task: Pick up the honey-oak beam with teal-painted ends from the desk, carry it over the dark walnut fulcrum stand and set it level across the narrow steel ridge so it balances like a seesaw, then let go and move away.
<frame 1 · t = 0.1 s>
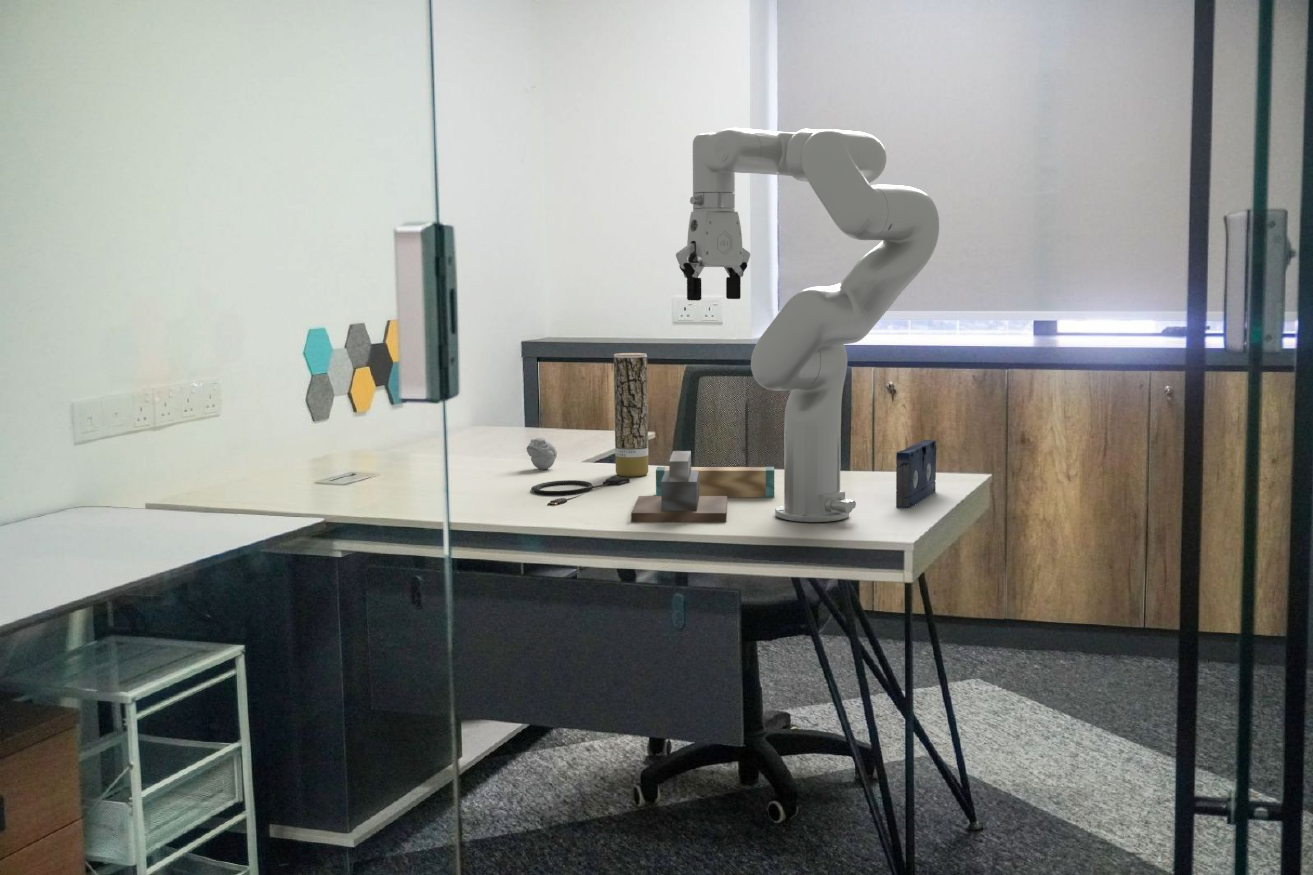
hand: (714, 299, 230), 37 cm above the table, tool pointing down, fingers open, 9 cm apart
cable: (565, 494, 244), on the table
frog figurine: (542, 470, 270), on the table
vhs cassette tape: (916, 501, 231), on the table
oak beam: (715, 495, 237), on the table
fulcrum stand: (680, 512, 221), on the table
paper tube: (632, 475, 262), on the table
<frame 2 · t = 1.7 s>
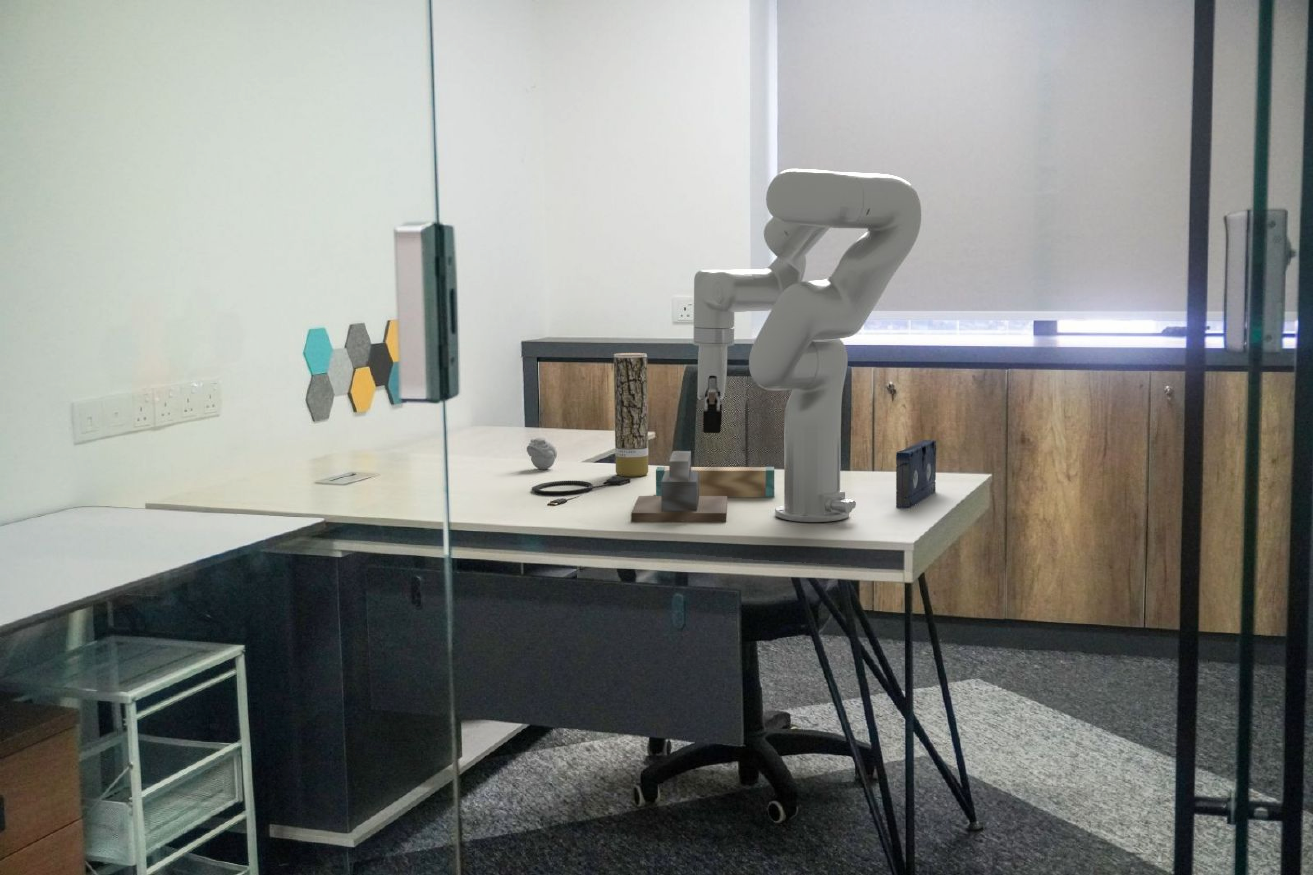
hand: (712, 428, 236), 13 cm above the table, tool pointing down, fingers open, 9 cm apart
nothing on the table moved.
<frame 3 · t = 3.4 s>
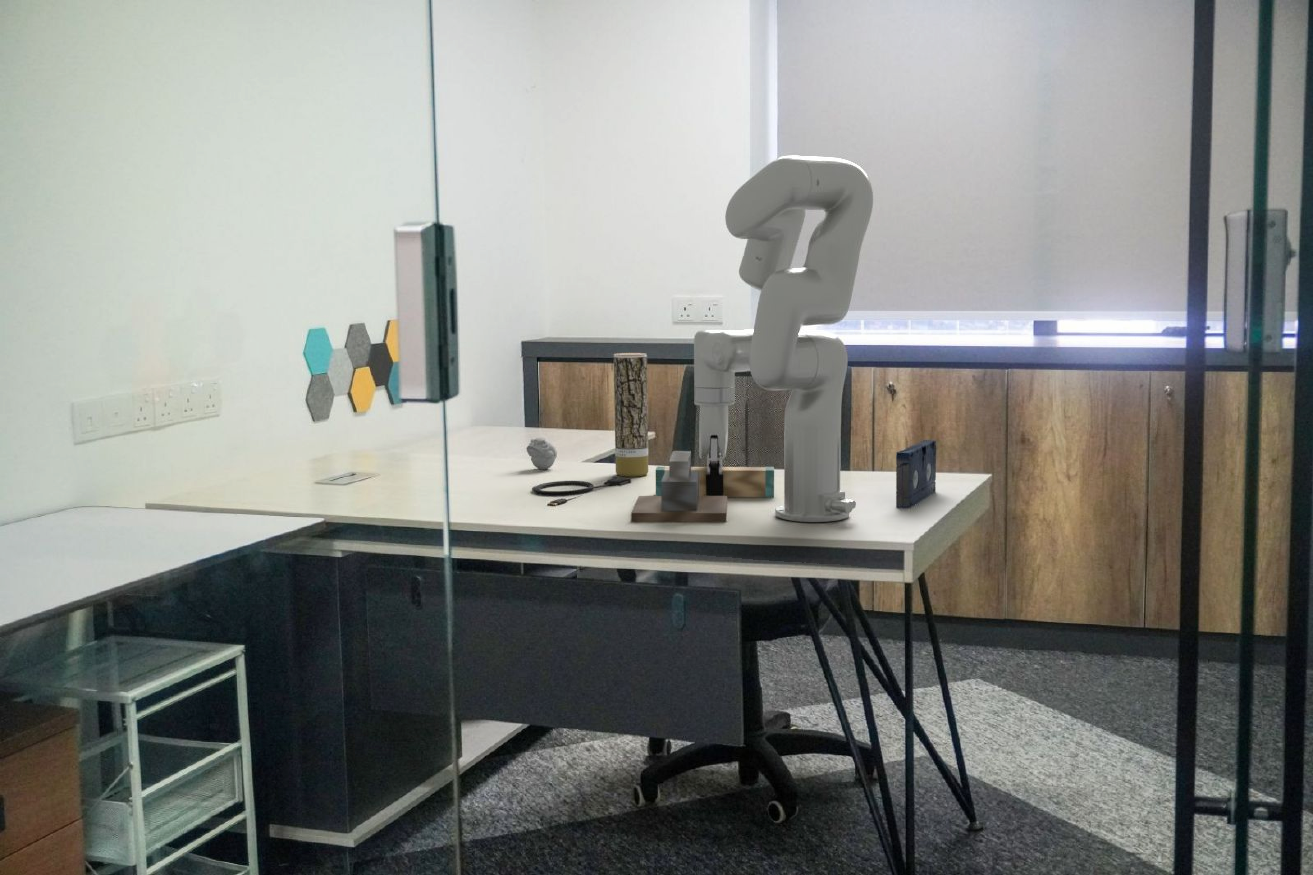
hand: (715, 492, 237), 1 cm above the table, tool pointing down, fingers closed on oak beam, 4 cm apart
oak beam: (714, 494, 237), on the table, touching gripper
everything else where it was.
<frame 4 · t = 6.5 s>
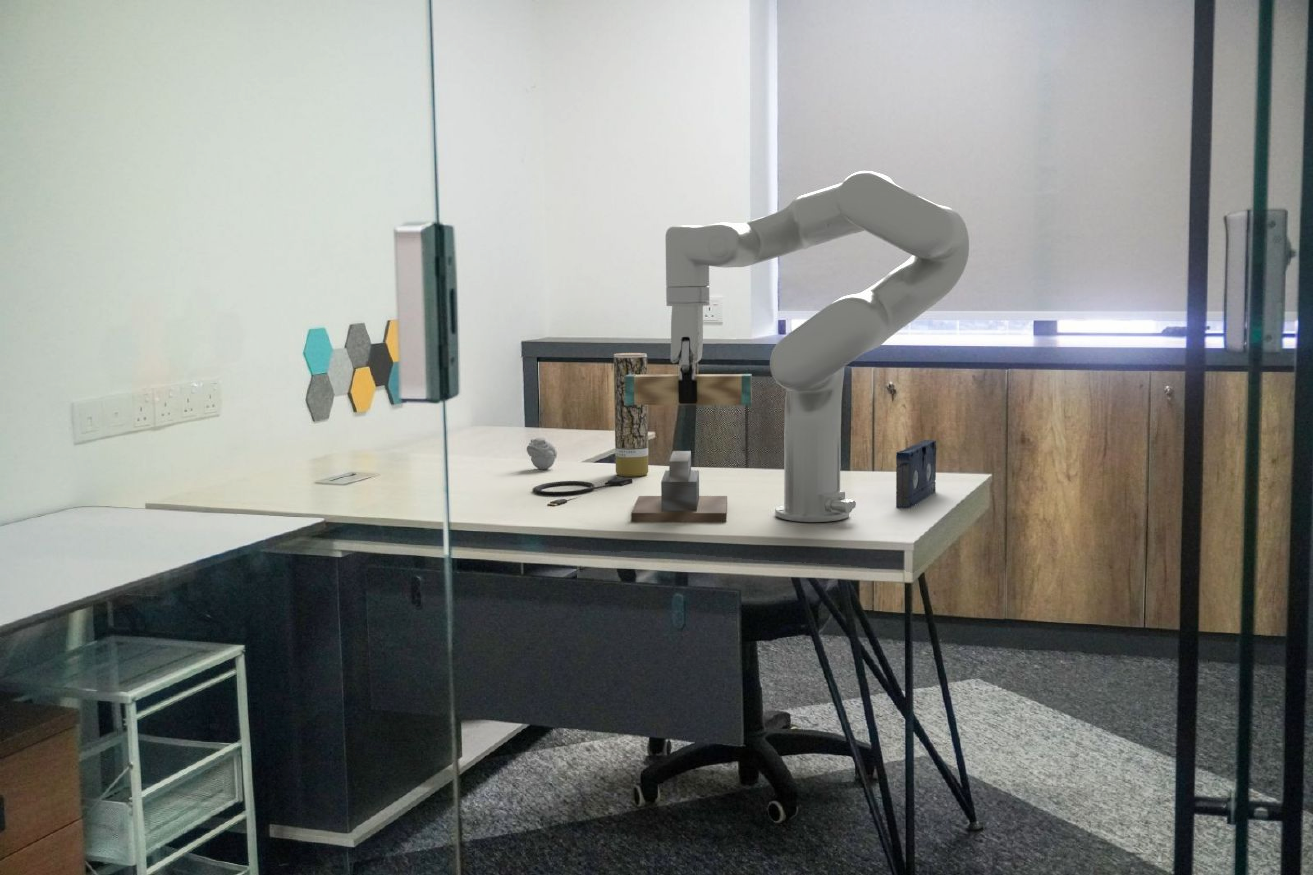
hand: (689, 400, 223), 19 cm above the table, tool pointing down, fingers closed on oak beam, 4 cm apart
oak beam: (688, 403, 223), point 19 cm above the table, touching gripper
everything else where it was.
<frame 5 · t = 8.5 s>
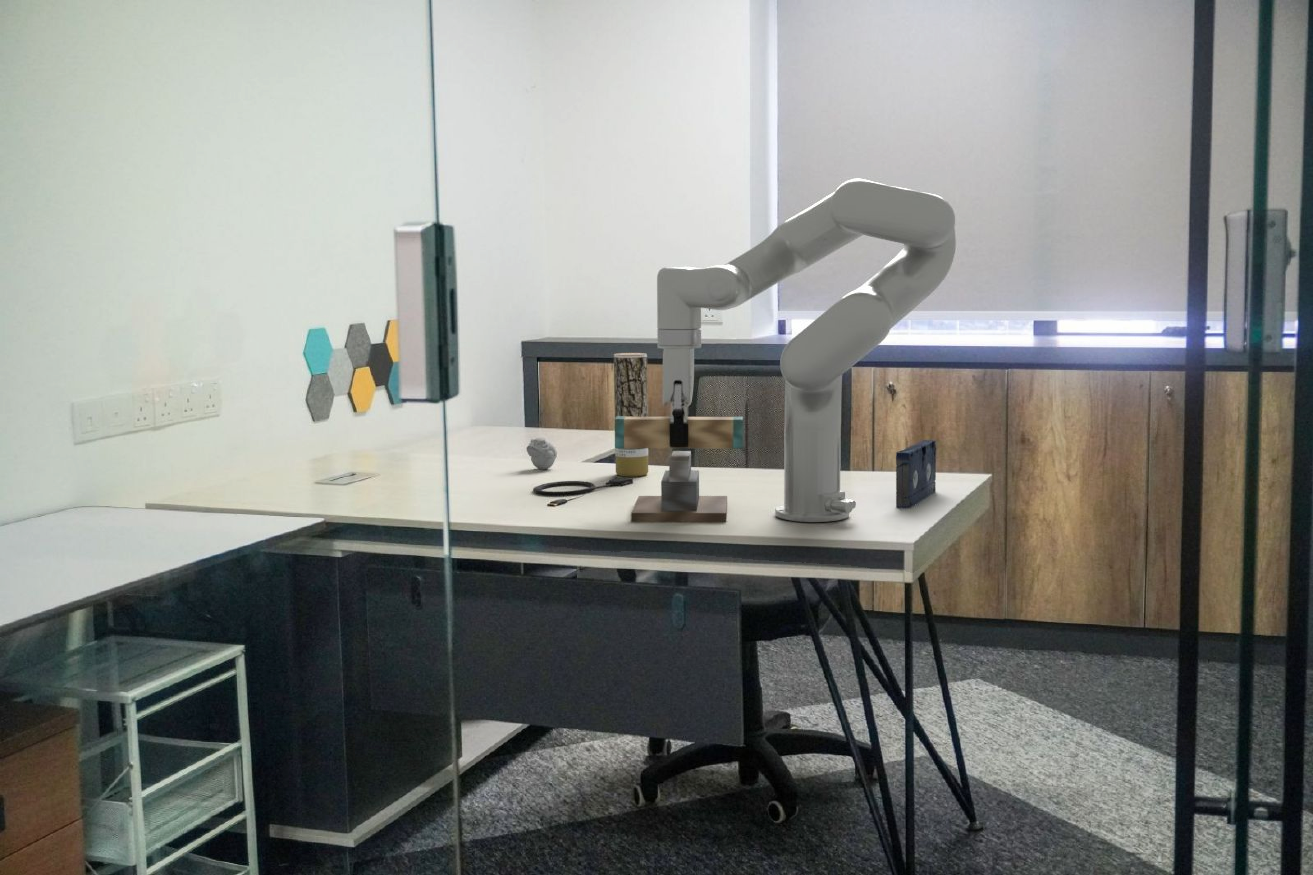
hand: (679, 443, 219), 12 cm above the table, tool pointing down, fingers closed on oak beam, 4 cm apart
oak beam: (679, 446, 220), point 12 cm above the table, touching gripper
everything else where it was.
when the fingers open (11 cm above the table, at t = 10.0 s): oak beam stays where it is, resting on fulcrum stand.
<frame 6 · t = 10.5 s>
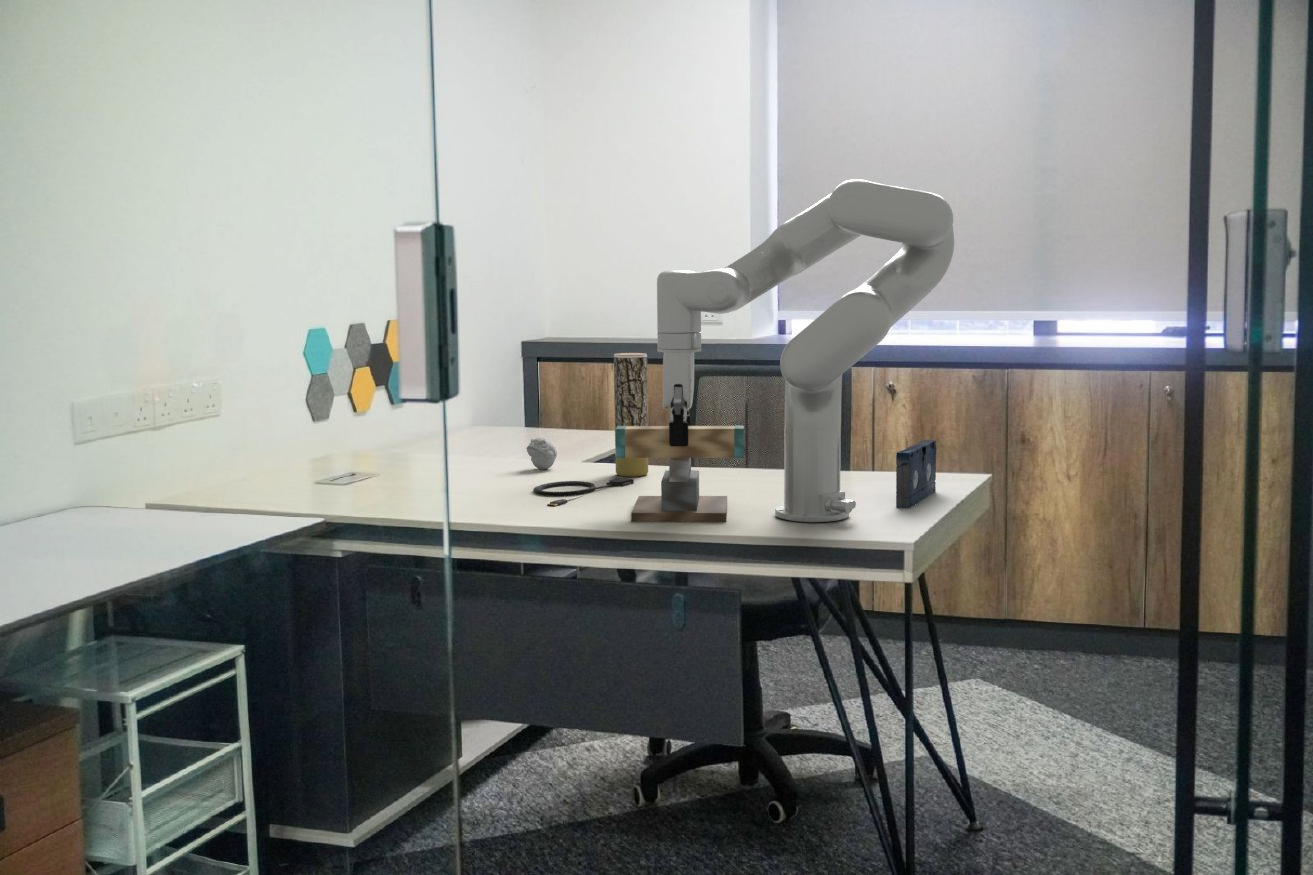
hand: (680, 442, 219), 12 cm above the table, tool pointing down, fingers open, 9 cm apart
oak beam: (680, 456, 220), point 10 cm above the table, touching fulcrum stand
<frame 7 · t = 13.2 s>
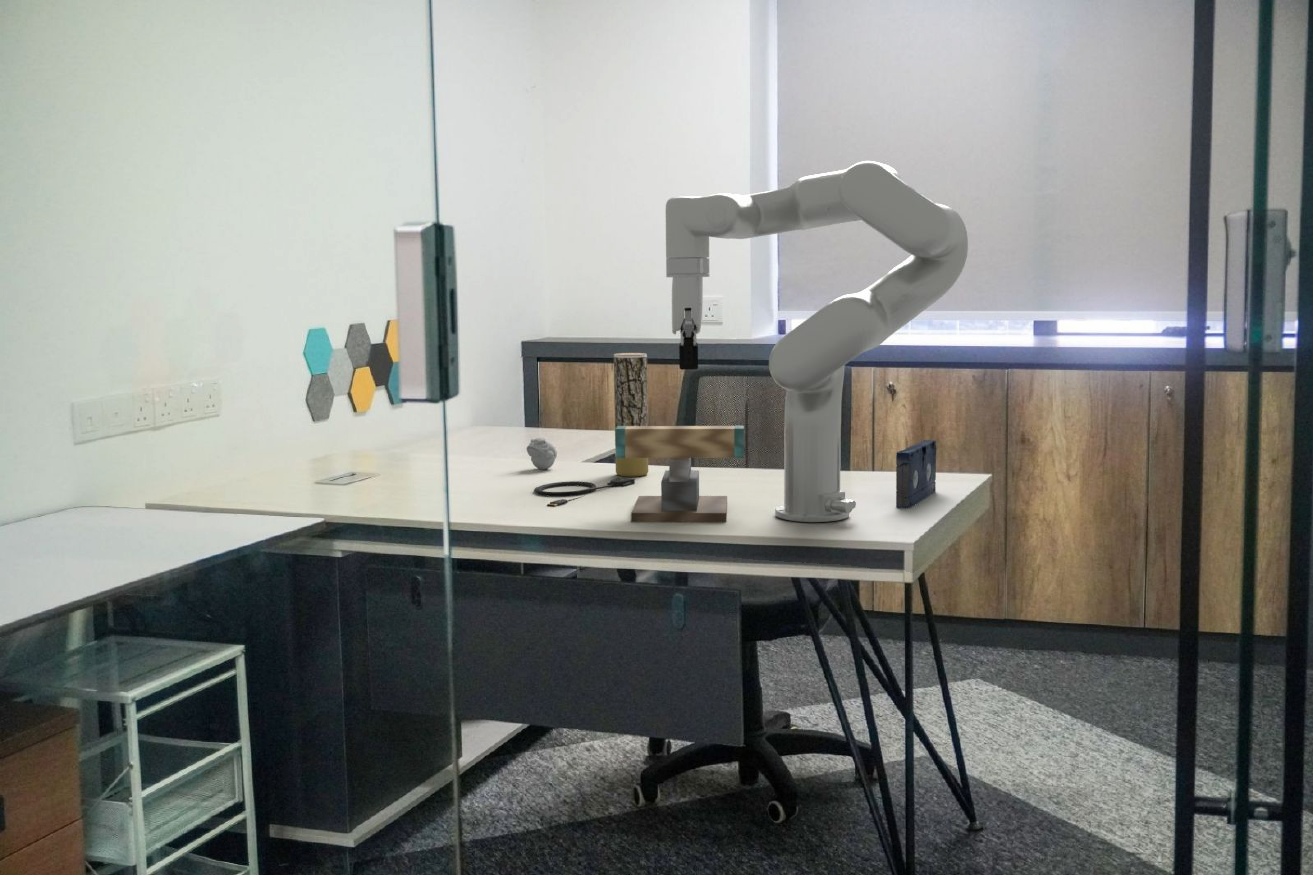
hand: (688, 367, 222), 25 cm above the table, tool pointing down, fingers open, 9 cm apart
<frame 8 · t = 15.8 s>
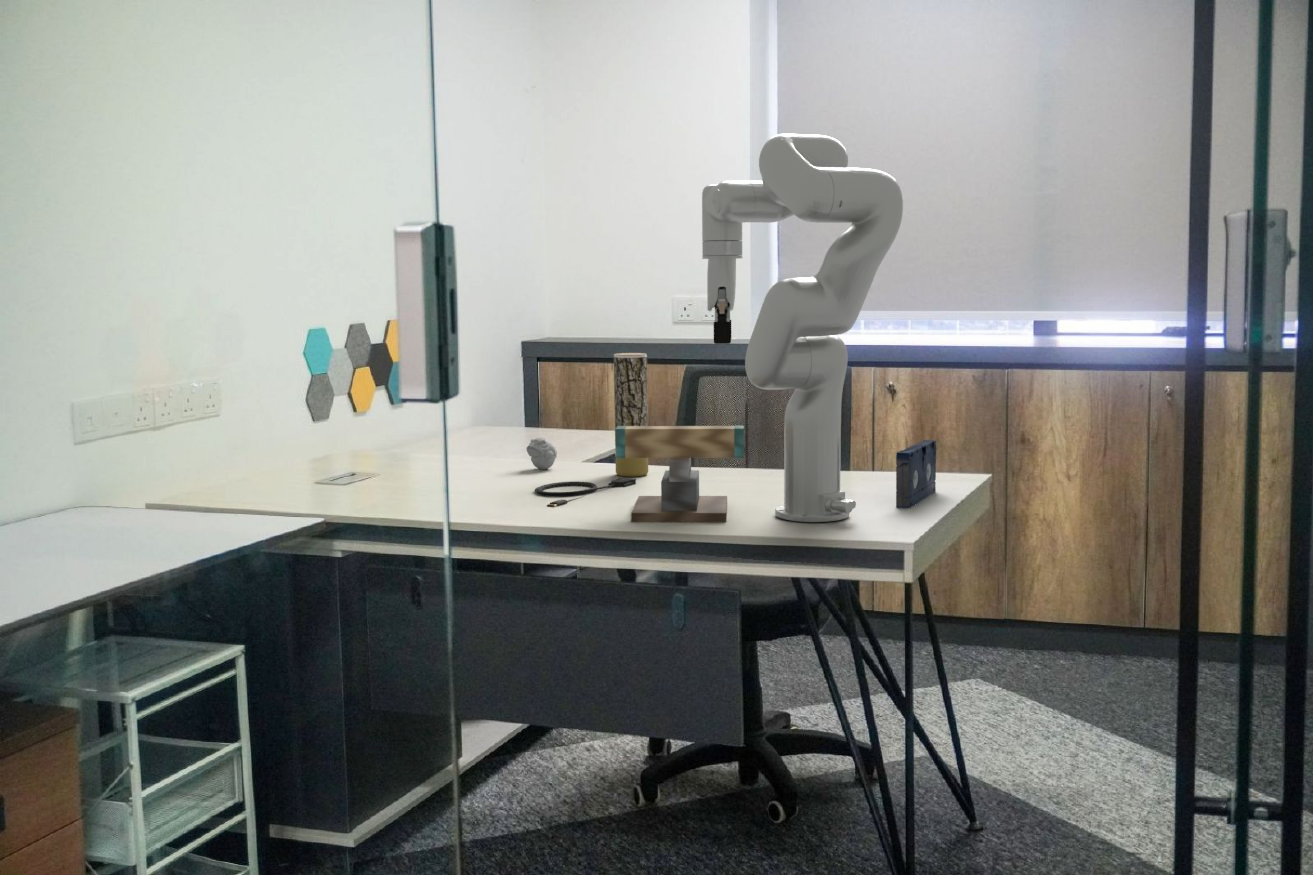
hand: (722, 341, 241), 28 cm above the table, tool pointing down, fingers open, 9 cm apart
at the end: oak beam 0.0 cm off-centre on the fulcrum stand, point 10.0 cm above the fulcrum stand's base; oak beam tilted 0°; oak beam touching fulcrum stand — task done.
